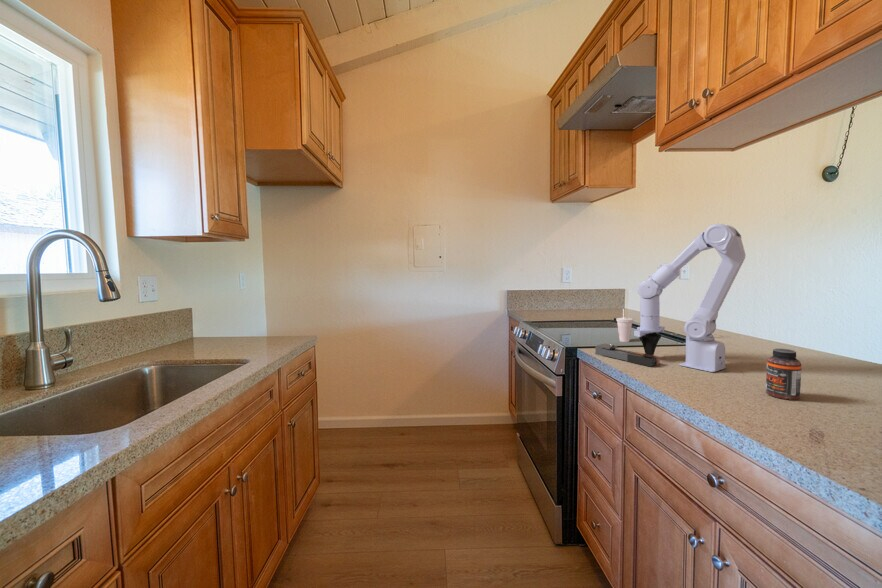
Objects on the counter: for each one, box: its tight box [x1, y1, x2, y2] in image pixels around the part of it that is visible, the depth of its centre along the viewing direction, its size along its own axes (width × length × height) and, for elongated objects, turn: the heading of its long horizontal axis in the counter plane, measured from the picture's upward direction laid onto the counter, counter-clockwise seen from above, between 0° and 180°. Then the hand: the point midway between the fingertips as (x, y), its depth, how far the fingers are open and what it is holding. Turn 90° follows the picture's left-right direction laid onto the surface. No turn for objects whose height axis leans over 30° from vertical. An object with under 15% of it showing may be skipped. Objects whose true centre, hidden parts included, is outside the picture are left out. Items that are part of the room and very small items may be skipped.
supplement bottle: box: [765, 348, 802, 401], centre depth 83 cm, size 6×6×11 cm
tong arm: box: [612, 348, 661, 366], centre depth 120 cm, size 18×3×2 cm, turn 29°
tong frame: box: [594, 343, 656, 368], centre depth 120 cm, size 21×5×4 cm, turn 28°
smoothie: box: [615, 308, 634, 343], centre depth 148 cm, size 6×6×14 cm
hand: (649, 354), depth 120 cm, fingers closed
